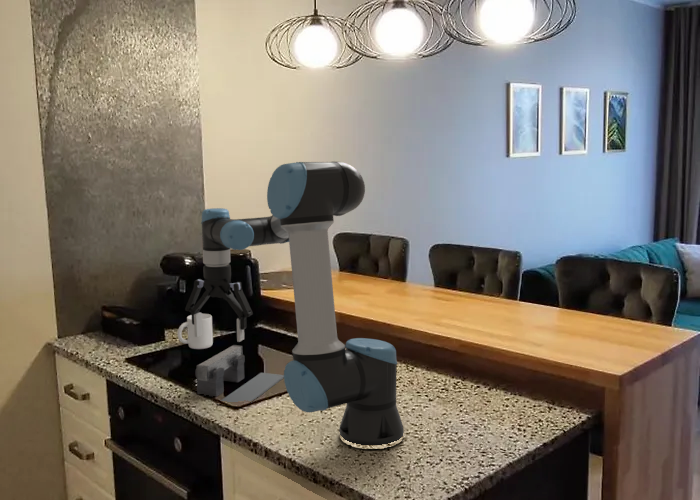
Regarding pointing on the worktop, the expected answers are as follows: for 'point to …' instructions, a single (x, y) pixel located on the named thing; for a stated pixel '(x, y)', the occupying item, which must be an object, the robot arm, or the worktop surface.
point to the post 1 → (212, 384)
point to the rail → (218, 362)
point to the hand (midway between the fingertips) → (219, 338)
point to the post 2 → (235, 370)
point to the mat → (254, 387)
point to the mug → (200, 341)
